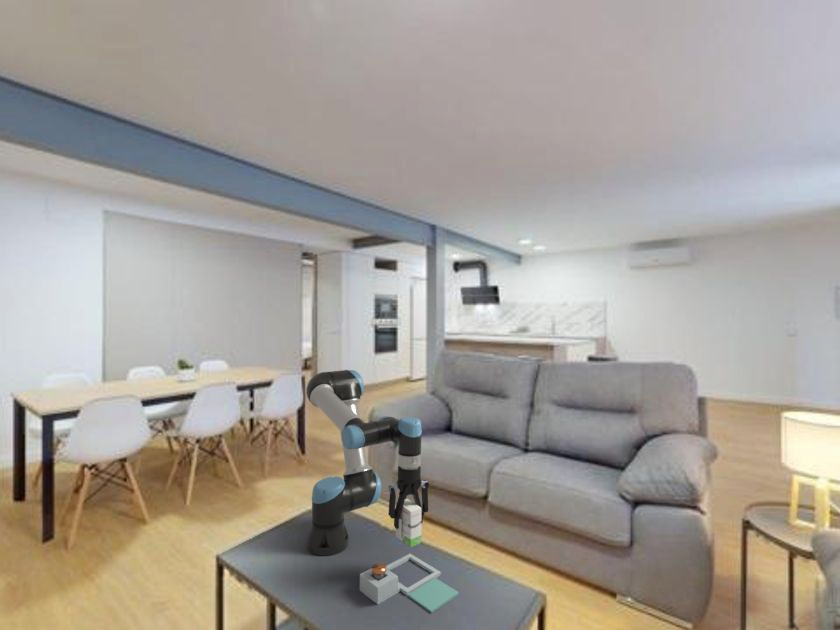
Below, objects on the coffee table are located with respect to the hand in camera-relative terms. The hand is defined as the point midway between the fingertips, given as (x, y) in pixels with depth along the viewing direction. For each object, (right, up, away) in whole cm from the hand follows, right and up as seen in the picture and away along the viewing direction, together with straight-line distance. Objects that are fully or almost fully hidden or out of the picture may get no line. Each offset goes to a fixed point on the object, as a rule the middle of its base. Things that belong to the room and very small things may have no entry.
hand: (408, 535), depth 142 cm
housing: (-3, -13, -3) cm, 14 cm away
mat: (+8, -13, -11) cm, 19 cm away
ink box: (0, -2, 0) cm, 2 cm away
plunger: (-9, -11, -9) cm, 17 cm away
